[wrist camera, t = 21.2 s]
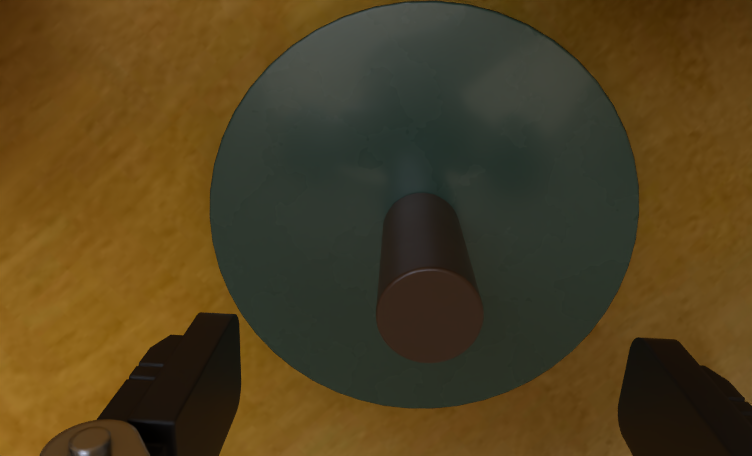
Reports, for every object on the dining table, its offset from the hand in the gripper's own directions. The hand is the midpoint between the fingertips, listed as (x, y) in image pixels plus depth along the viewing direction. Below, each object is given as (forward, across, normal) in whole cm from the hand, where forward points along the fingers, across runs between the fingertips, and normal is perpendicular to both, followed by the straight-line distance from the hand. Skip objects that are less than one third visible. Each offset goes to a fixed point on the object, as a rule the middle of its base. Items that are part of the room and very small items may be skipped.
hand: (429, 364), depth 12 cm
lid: (+9, 0, 0) cm, 9 cm away
